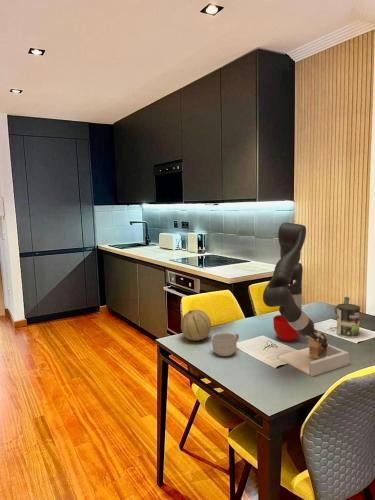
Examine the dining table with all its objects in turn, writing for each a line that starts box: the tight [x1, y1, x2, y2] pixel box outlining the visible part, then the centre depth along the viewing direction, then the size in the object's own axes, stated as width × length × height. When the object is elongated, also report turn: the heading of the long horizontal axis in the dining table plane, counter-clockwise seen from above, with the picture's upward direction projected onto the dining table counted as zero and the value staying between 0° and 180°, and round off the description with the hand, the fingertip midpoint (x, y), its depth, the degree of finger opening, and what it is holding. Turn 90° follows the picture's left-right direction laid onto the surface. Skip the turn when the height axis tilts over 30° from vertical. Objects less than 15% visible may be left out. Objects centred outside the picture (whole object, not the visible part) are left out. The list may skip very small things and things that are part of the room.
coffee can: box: [336, 303, 361, 339], centre depth 176 cm, size 10×10×14 cm
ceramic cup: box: [272, 314, 300, 342], centre depth 171 cm, size 13×17×10 cm
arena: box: [276, 343, 350, 377], centre depth 148 cm, size 20×20×5 cm
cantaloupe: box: [180, 309, 212, 341], centre depth 175 cm, size 15×15×15 cm
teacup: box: [211, 332, 240, 357], centre depth 159 cm, size 14×11×8 cm
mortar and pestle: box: [334, 296, 351, 316], centre depth 198 cm, size 11×9×12 cm
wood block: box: [308, 331, 328, 359], centre depth 149 cm, size 5×5×9 cm
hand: (321, 344), depth 150 cm, fingers open, 4 cm apart
